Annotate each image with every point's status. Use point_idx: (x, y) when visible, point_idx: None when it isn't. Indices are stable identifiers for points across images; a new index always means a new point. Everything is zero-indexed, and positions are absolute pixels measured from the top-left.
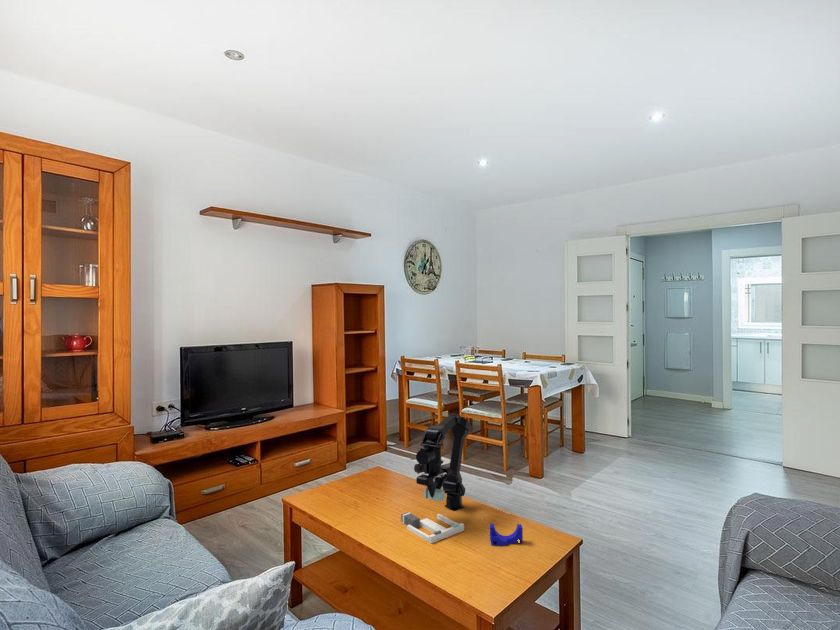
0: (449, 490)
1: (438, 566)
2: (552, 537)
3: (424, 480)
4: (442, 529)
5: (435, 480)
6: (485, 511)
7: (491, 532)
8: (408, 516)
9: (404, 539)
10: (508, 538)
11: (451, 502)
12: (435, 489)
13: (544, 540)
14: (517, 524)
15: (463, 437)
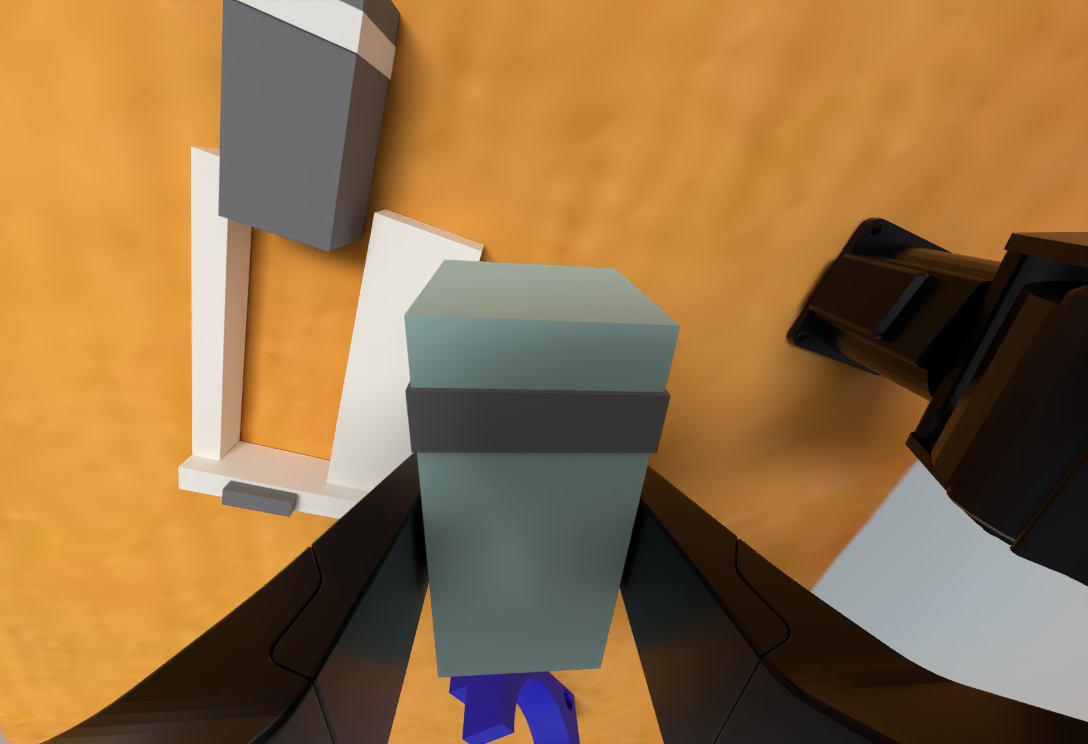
0: (978, 381)
1: (60, 593)
2: (643, 739)
3: None
4: (382, 463)
5: (781, 738)
6: (832, 500)
7: (467, 704)
8: (259, 80)
9: (59, 254)
10: (521, 697)
11: (856, 331)
12: (563, 551)
13: (606, 733)
14: None
15: None
